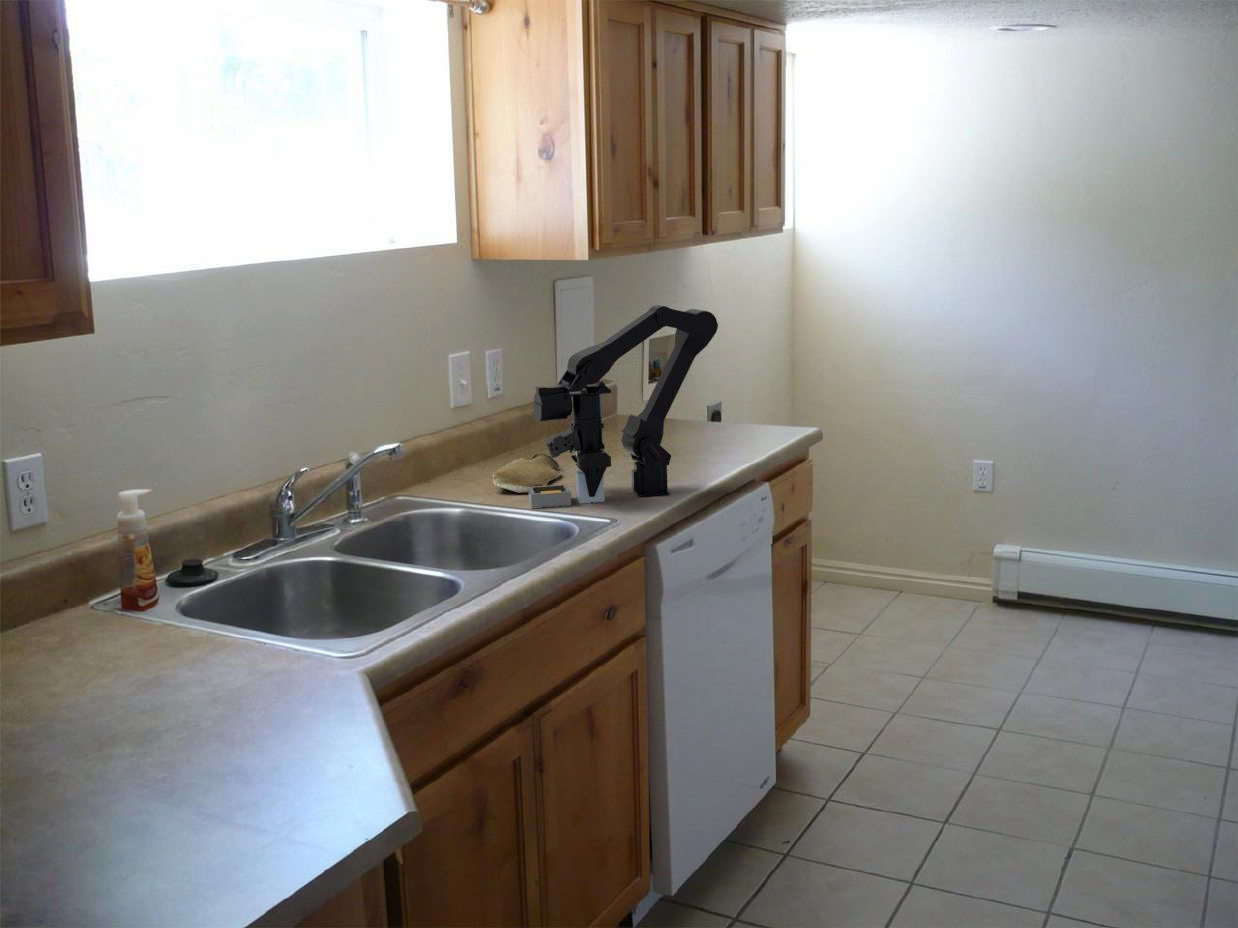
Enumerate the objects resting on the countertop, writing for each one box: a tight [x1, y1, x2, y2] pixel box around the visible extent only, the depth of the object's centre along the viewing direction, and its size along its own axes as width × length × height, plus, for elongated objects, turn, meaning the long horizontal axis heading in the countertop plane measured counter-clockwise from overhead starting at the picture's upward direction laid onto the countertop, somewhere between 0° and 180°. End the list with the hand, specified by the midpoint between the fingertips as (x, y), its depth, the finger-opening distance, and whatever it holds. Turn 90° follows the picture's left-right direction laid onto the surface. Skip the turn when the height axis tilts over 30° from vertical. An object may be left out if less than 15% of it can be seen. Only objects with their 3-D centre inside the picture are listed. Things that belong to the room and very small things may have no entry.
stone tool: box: [492, 453, 562, 494], centre depth 261 cm, size 12×4×25 cm
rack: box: [527, 483, 572, 509], centre depth 241 cm, size 8×7×3 cm
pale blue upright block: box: [575, 468, 606, 504], centre depth 242 cm, size 5×4×6 cm
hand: (590, 494), depth 243 cm, fingers closed on pale blue upright block, 4 cm apart
